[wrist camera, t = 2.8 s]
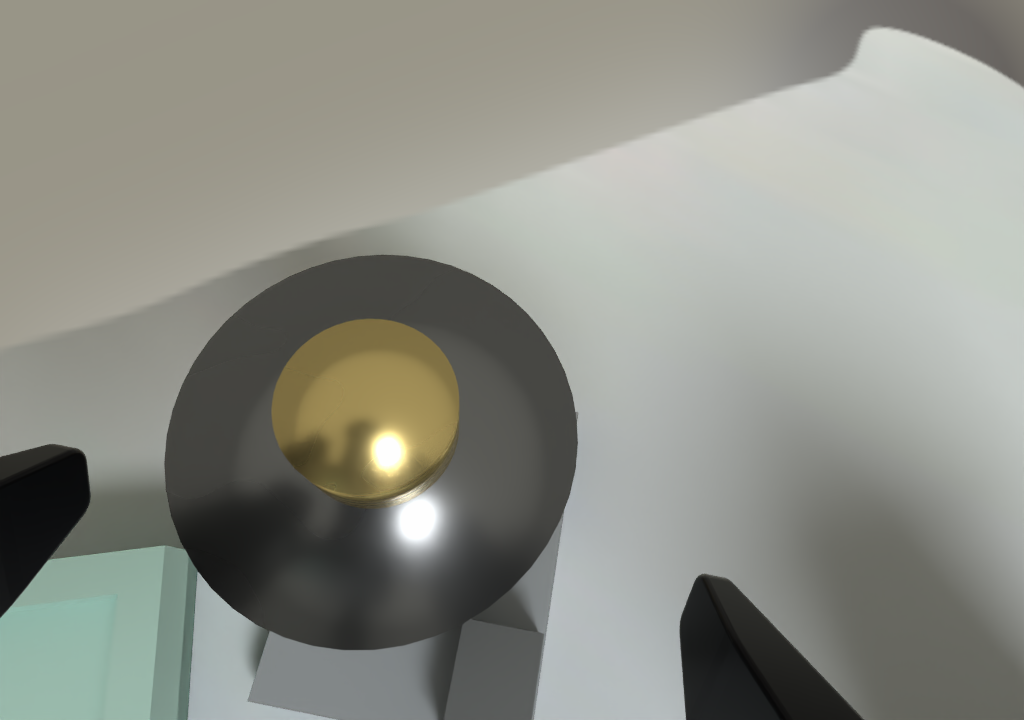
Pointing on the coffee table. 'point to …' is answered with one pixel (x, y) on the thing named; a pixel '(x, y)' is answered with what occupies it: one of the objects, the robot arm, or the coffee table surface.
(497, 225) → the coffee table surface
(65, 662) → the trough
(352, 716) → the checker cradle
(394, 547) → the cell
